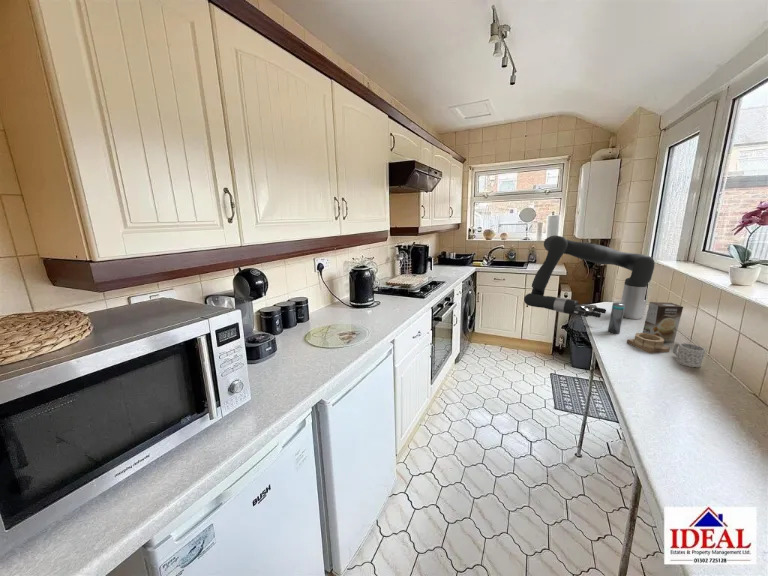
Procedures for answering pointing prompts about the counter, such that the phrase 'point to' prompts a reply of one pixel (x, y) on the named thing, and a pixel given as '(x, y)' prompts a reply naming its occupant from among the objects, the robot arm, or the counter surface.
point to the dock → (649, 350)
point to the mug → (689, 354)
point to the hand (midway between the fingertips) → (603, 313)
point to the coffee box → (663, 320)
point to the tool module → (616, 317)
